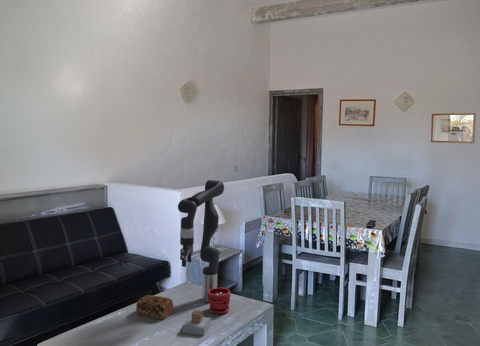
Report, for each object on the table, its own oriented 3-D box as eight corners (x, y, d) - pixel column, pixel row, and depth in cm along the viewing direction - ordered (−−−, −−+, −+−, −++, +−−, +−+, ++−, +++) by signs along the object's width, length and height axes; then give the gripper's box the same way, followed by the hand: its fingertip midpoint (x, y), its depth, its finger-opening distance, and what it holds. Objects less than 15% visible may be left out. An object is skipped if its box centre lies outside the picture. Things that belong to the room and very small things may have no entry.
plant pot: (231, 306, 235) (231, 287, 235) (228, 316, 222) (228, 295, 222) (209, 305, 237) (210, 286, 236) (205, 314, 224) (206, 294, 223)
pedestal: (190, 322, 213) (190, 315, 213) (211, 325, 211) (211, 317, 211) (182, 332, 202) (182, 324, 201) (204, 335, 199) (204, 327, 199)
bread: (173, 313, 224) (173, 296, 224) (163, 321, 214) (163, 303, 214) (146, 307, 231) (146, 291, 231) (135, 315, 222) (135, 297, 221)
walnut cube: (194, 318, 209) (194, 309, 208) (202, 319, 208) (202, 310, 207) (191, 322, 204) (191, 313, 204) (199, 323, 203) (199, 314, 203)
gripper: (185, 232, 226) (184, 260, 227) (175, 238, 212) (175, 267, 213) (197, 233, 224) (197, 261, 225) (189, 239, 210) (188, 268, 211)
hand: (186, 264), depth 219 cm, fingers open, 8 cm apart
